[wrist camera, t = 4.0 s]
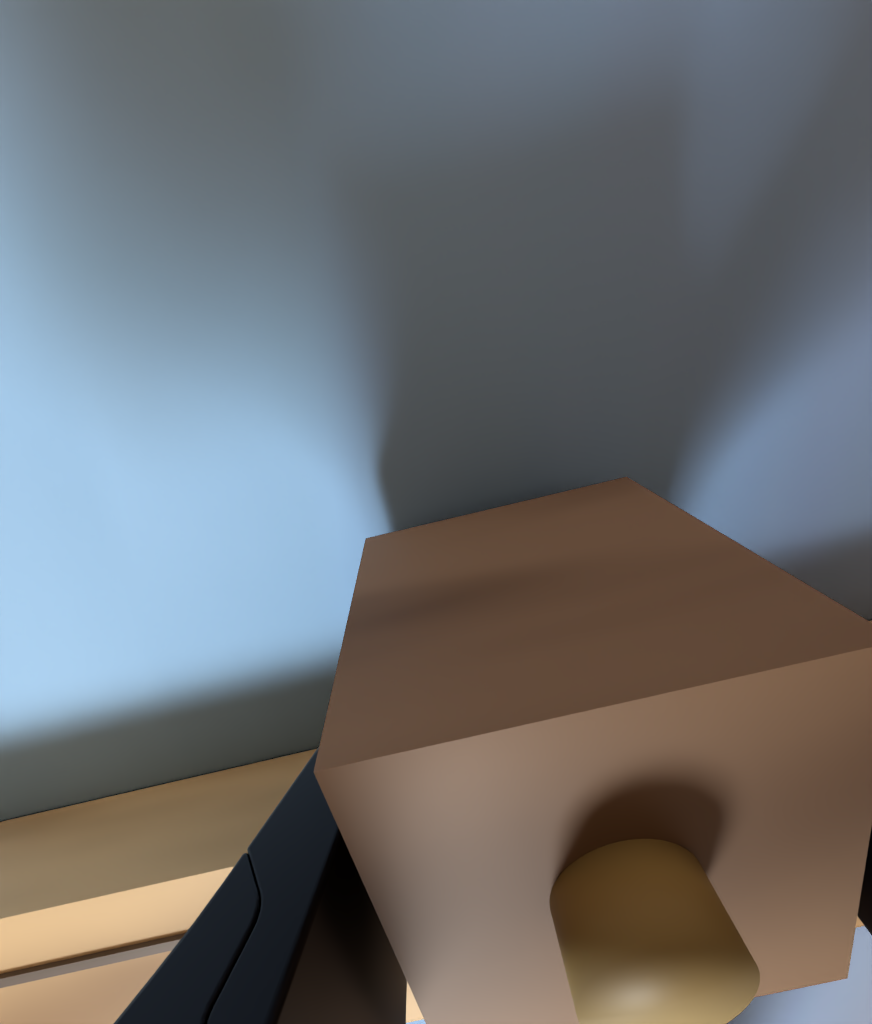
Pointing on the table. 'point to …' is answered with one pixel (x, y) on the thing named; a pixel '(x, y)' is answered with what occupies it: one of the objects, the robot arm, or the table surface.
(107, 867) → the board
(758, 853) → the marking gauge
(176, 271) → the table surface
